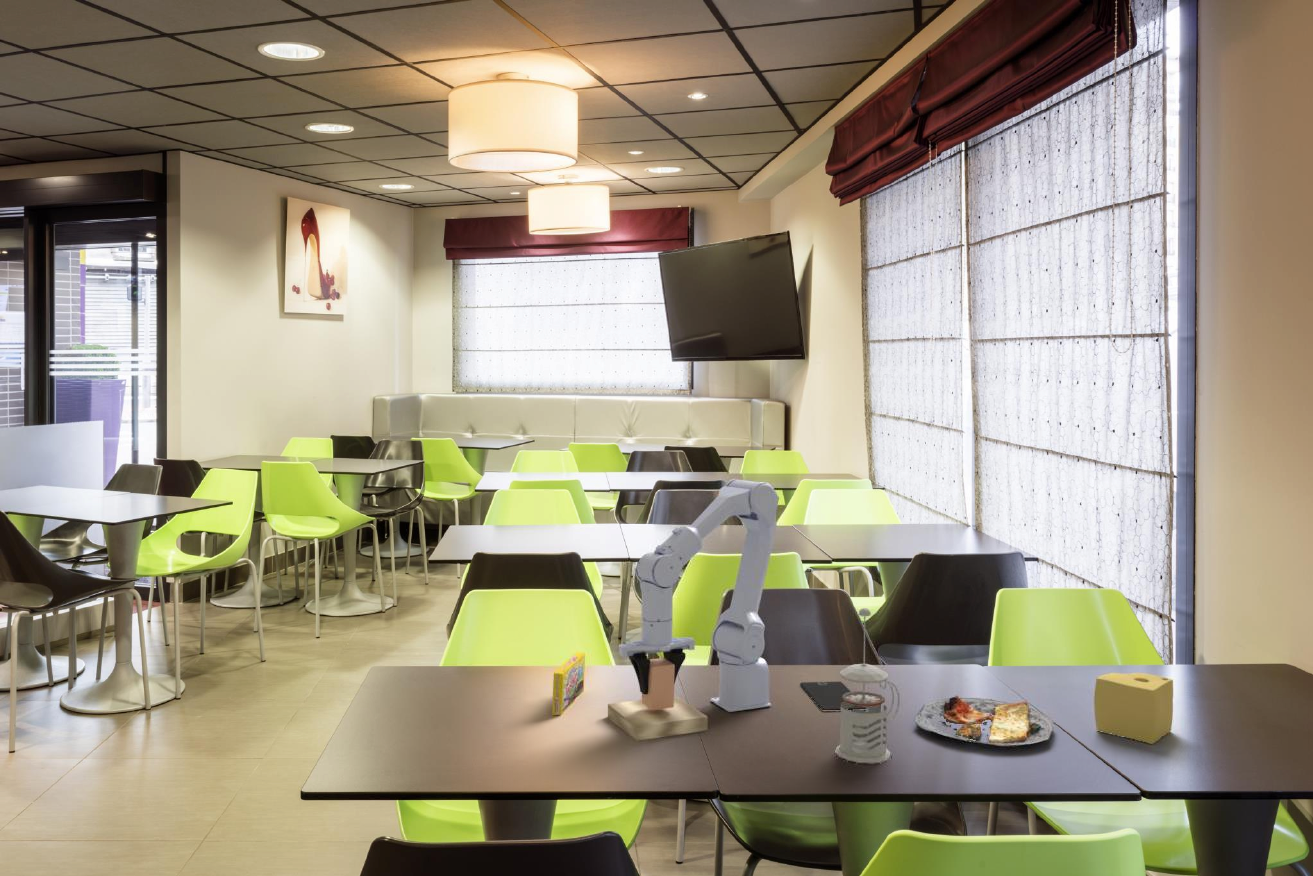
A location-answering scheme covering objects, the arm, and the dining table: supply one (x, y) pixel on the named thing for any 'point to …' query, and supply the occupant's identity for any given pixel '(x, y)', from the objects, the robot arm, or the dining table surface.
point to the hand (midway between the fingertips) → (656, 691)
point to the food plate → (1008, 722)
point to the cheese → (1134, 705)
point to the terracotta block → (660, 685)
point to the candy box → (568, 683)
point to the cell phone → (828, 694)
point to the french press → (864, 714)
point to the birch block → (656, 719)
